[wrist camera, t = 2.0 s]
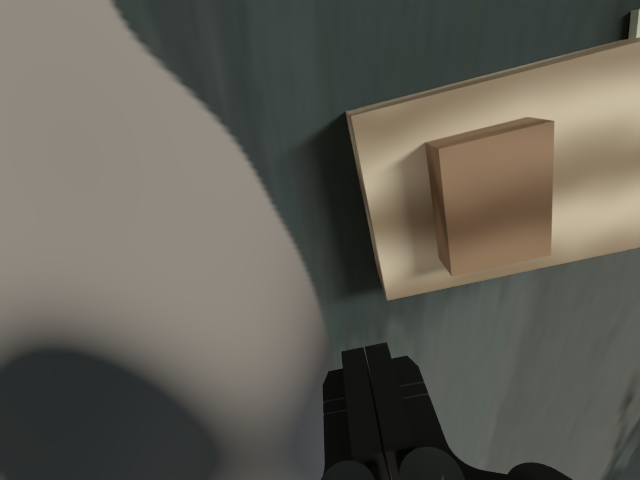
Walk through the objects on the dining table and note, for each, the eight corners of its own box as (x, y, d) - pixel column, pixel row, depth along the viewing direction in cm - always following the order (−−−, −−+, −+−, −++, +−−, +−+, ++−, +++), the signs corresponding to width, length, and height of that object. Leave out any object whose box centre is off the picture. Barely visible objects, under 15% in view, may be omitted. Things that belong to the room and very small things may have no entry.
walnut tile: (425, 142, 21) (438, 149, 19) (527, 116, 20) (554, 120, 18) (438, 258, 24) (451, 276, 22) (528, 238, 24) (550, 255, 21)
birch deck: (345, 111, 24) (350, 116, 20) (620, 40, 22) (680, 31, 19) (378, 273, 29) (387, 300, 25) (603, 224, 28) (648, 245, 24)
